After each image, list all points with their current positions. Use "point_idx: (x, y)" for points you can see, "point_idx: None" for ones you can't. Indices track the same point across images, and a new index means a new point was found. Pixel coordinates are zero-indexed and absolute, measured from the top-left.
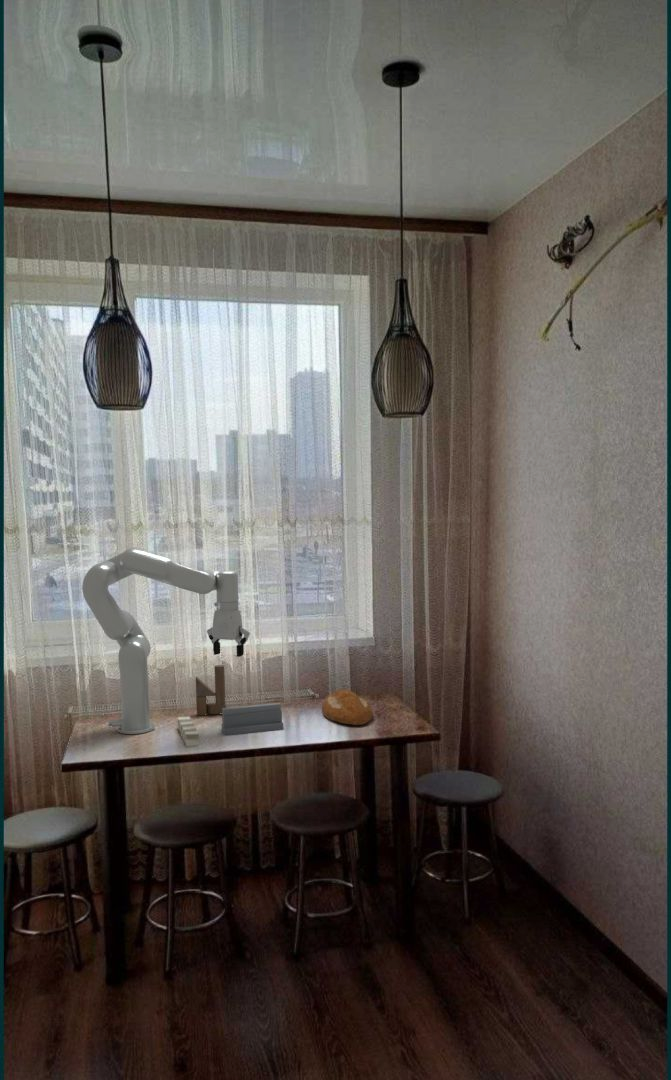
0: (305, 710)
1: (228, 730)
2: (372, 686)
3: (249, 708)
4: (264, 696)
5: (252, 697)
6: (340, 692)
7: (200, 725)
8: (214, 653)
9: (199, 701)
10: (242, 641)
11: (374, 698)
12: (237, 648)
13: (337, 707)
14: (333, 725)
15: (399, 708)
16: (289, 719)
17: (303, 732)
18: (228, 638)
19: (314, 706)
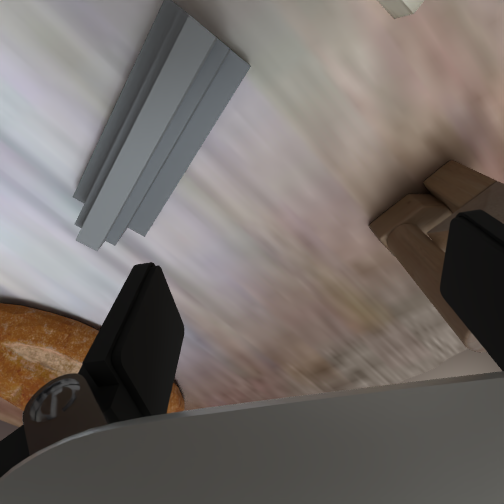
0: (197, 348)
1: (161, 10)
2: None
3: (130, 133)
4: (379, 384)
5: (403, 368)
6: None
7: (363, 64)
8: (472, 214)
9: (472, 182)
10: (5, 458)
11: None
12: (111, 325)
13: (29, 348)
14: (16, 288)
15: None
16: None
17: (2, 194)
18: (193, 428)
19: (207, 377)
